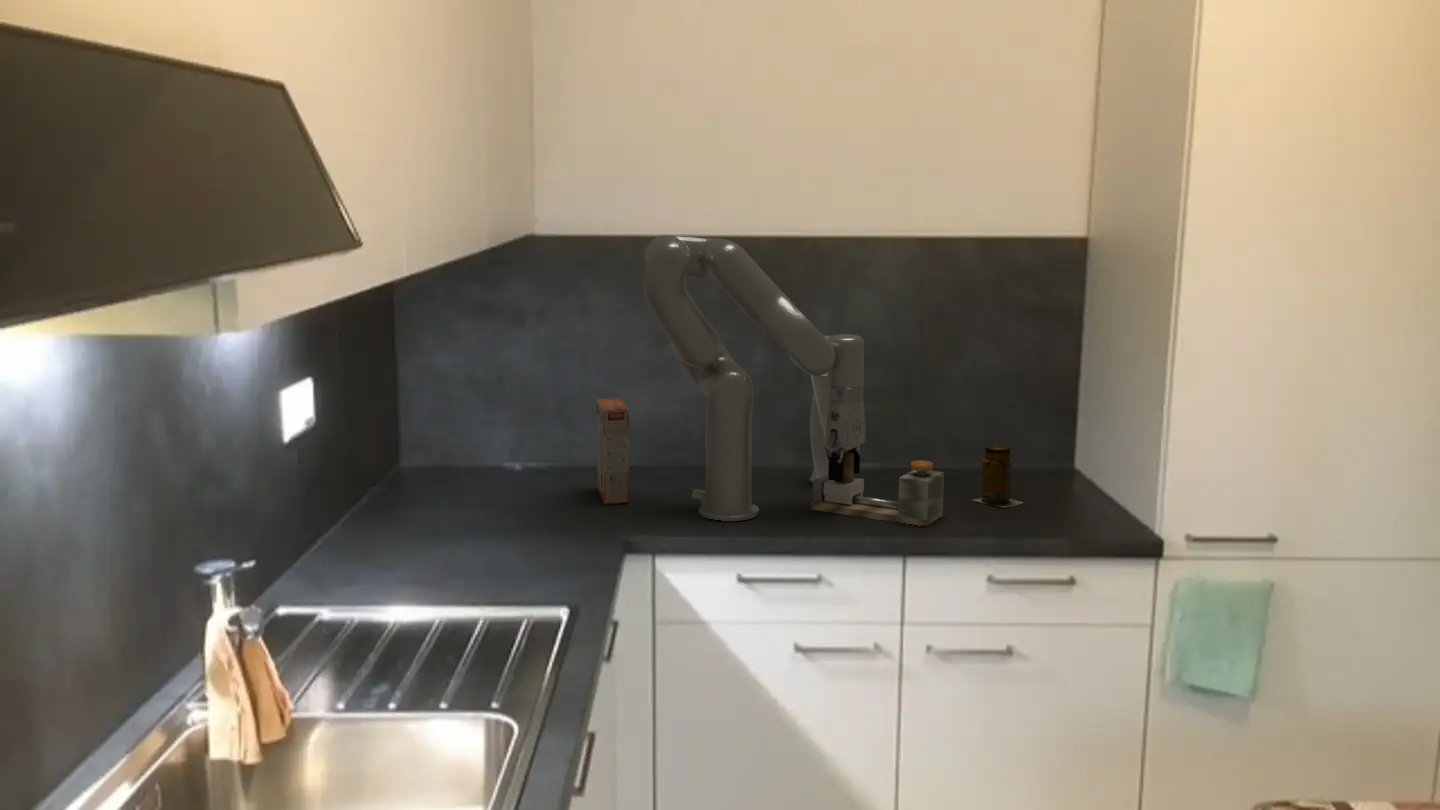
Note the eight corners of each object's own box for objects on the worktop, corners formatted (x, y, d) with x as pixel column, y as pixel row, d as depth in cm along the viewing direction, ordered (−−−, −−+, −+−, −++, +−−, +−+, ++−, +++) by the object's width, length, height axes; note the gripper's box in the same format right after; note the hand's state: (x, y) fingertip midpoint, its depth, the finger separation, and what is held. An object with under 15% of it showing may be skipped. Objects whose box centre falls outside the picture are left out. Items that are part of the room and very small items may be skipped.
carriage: (823, 501, 269) (824, 455, 267) (838, 493, 275) (839, 448, 273) (849, 505, 266) (849, 458, 264) (863, 497, 272) (864, 451, 270)
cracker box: (631, 504, 274) (629, 408, 270) (603, 505, 273) (601, 409, 269) (623, 488, 288) (622, 397, 284) (597, 489, 287) (595, 398, 283)
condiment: (993, 495, 281) (995, 442, 278) (1024, 503, 274) (1027, 449, 272) (971, 501, 276) (973, 447, 274) (1003, 509, 270) (1005, 454, 267)
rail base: (810, 509, 270) (811, 465, 268) (829, 499, 277) (830, 457, 275) (925, 527, 256) (926, 481, 255) (942, 516, 264) (943, 472, 262)
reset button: (907, 479, 259) (907, 463, 259) (915, 474, 263) (916, 459, 262) (927, 481, 257) (927, 466, 256) (935, 477, 261) (936, 462, 260)
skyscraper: (849, 487, 288) (851, 364, 283) (815, 489, 286) (816, 366, 281) (836, 478, 296) (838, 359, 291) (803, 480, 294) (804, 360, 289)
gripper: (843, 402, 257) (841, 487, 260) (879, 389, 271) (877, 470, 275) (810, 398, 261) (809, 483, 264) (847, 386, 275) (846, 466, 279)
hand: (844, 475), depth 269 cm, fingers open, 7 cm apart
